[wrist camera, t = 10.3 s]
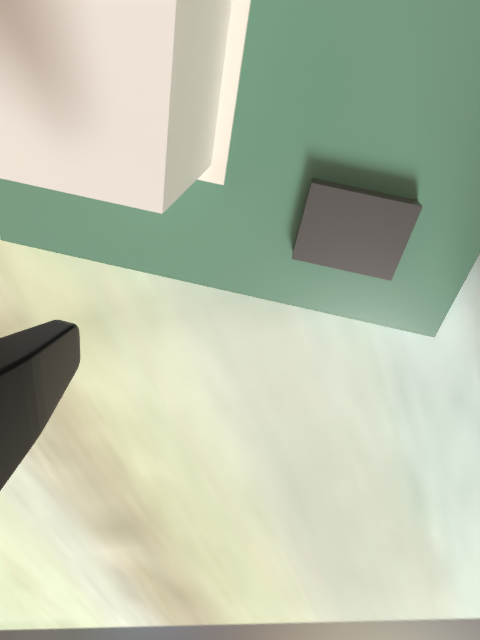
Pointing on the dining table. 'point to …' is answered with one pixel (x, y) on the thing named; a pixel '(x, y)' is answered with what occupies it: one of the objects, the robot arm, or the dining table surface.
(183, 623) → the dining table surface
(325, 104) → the board
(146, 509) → the dining table surface
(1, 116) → the block
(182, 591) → the dining table surface
